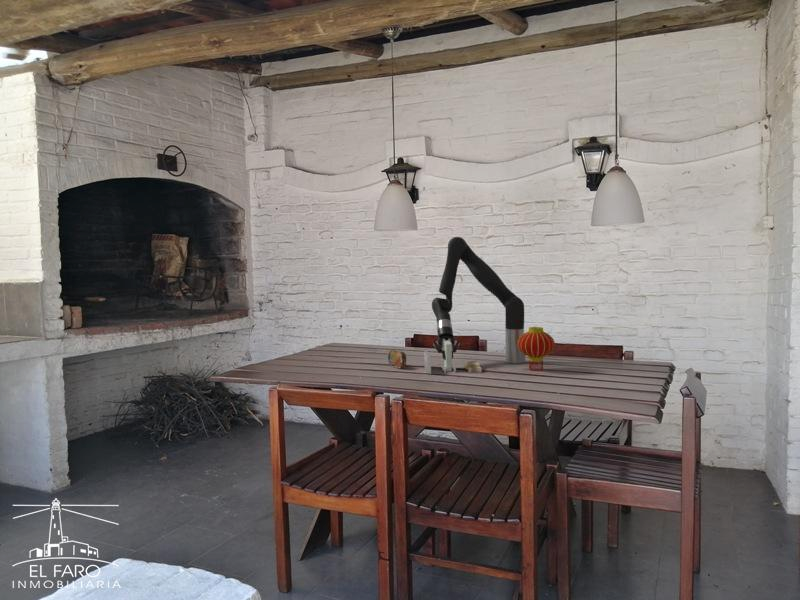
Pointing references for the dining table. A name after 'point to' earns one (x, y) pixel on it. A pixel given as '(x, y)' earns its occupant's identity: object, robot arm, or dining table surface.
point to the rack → (428, 363)
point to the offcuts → (473, 366)
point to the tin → (397, 358)
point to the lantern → (536, 346)
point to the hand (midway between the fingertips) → (448, 358)
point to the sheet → (448, 356)
